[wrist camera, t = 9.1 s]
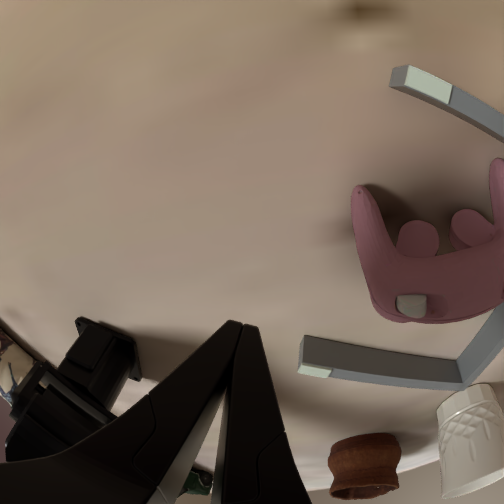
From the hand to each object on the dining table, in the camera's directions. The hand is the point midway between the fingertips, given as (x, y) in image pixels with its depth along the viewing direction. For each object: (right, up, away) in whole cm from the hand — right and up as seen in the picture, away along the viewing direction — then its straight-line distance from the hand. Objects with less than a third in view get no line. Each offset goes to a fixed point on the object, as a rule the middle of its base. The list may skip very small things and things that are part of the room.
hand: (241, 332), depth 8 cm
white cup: (+22, -13, +14) cm, 29 cm away
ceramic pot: (+14, -20, +20) cm, 32 cm away
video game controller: (+10, +4, +6) cm, 13 cm away
